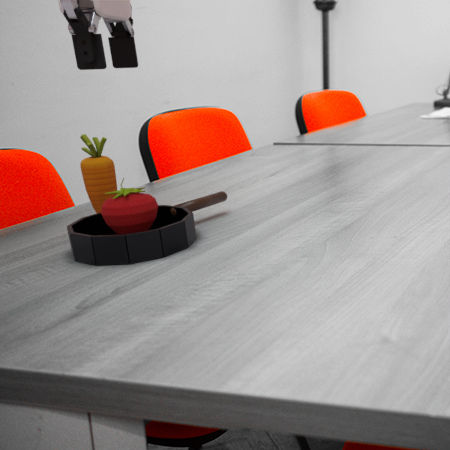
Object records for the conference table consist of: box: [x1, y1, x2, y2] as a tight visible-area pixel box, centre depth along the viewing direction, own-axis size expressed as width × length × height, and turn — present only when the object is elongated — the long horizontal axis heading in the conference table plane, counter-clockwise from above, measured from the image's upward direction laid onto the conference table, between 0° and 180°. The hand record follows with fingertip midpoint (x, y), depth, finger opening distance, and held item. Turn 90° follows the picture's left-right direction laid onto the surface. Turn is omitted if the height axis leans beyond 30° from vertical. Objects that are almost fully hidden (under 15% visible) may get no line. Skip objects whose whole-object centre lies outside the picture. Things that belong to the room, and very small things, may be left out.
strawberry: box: [101, 177, 159, 235], centre depth 82 cm, size 6×8×10 cm
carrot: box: [79, 133, 118, 214], centre depth 92 cm, size 5×5×15 cm
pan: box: [66, 190, 228, 266], centre depth 87 cm, size 27×16×4 cm, turn 153°
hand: (110, 68), depth 73 cm, fingers open, 9 cm apart
